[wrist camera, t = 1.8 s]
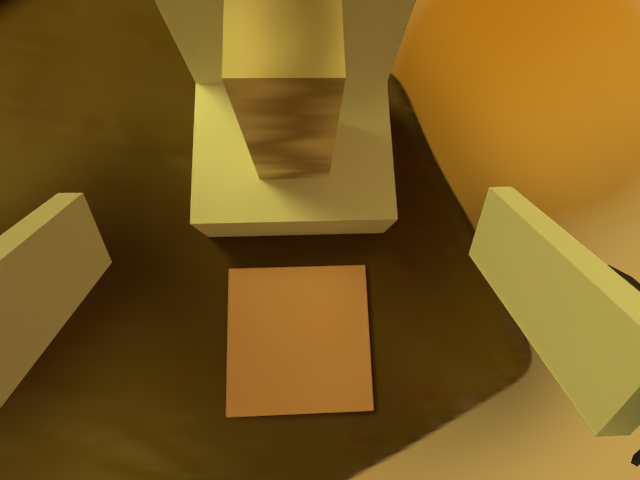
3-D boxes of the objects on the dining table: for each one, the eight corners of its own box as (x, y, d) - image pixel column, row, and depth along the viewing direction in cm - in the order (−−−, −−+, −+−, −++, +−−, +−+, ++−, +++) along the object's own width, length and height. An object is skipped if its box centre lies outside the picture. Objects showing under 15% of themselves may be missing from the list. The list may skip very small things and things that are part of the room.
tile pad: (227, 415, 28) (225, 417, 27) (230, 269, 30) (228, 268, 30) (372, 408, 28) (373, 410, 28) (364, 265, 31) (365, 264, 30)
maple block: (259, 179, 27) (221, 78, 15) (259, 121, 28) (224, -17, 16) (329, 177, 27) (345, 77, 15) (326, 120, 28) (340, -16, 16)
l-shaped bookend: (208, 237, 31) (-114, 8, 7) (212, 102, 33) (-14, -388, 10) (383, 232, 31) (611, 10, 8) (374, 101, 34) (524, -361, 10)
